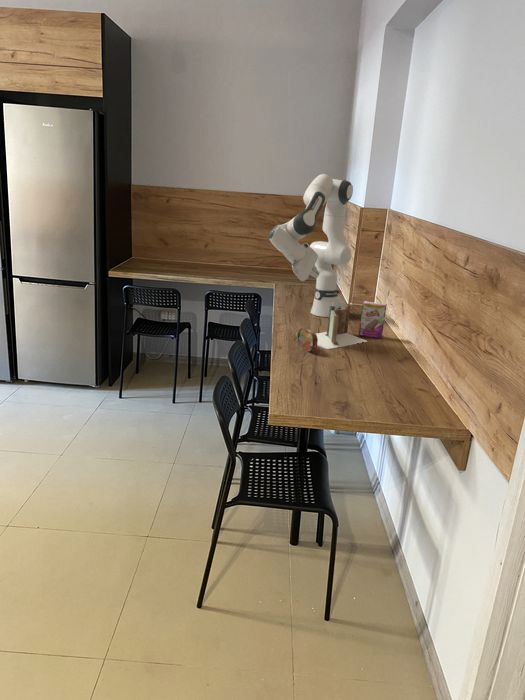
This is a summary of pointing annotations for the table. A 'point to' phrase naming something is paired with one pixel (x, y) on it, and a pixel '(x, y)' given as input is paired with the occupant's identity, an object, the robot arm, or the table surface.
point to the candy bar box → (372, 319)
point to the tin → (307, 339)
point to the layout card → (337, 340)
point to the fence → (340, 319)
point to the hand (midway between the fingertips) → (318, 275)
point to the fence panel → (333, 327)
